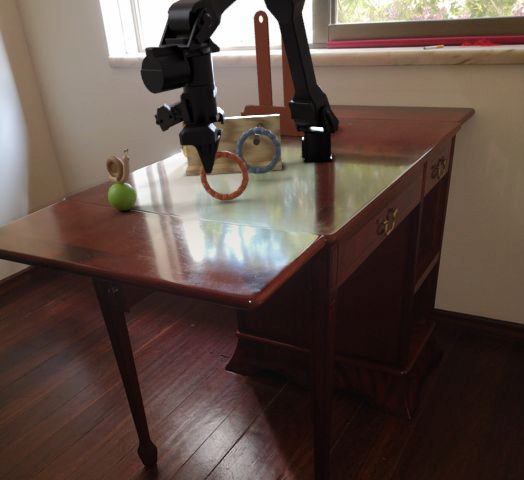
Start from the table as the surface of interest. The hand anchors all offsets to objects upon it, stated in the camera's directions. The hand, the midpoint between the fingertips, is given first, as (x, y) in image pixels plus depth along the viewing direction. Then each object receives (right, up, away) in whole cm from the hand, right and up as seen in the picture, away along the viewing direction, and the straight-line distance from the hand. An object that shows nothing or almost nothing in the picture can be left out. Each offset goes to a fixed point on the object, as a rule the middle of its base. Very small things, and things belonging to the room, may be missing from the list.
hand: (209, 172), depth 107 cm
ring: (-7, +13, +32) cm, 36 cm away
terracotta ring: (+3, -1, 0) cm, 3 cm away
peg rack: (+4, +5, +18) cm, 19 cm away
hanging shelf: (+18, +29, +53) cm, 63 cm away
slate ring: (+9, +8, +10) cm, 16 cm away
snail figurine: (-17, -7, +3) cm, 18 cm away
